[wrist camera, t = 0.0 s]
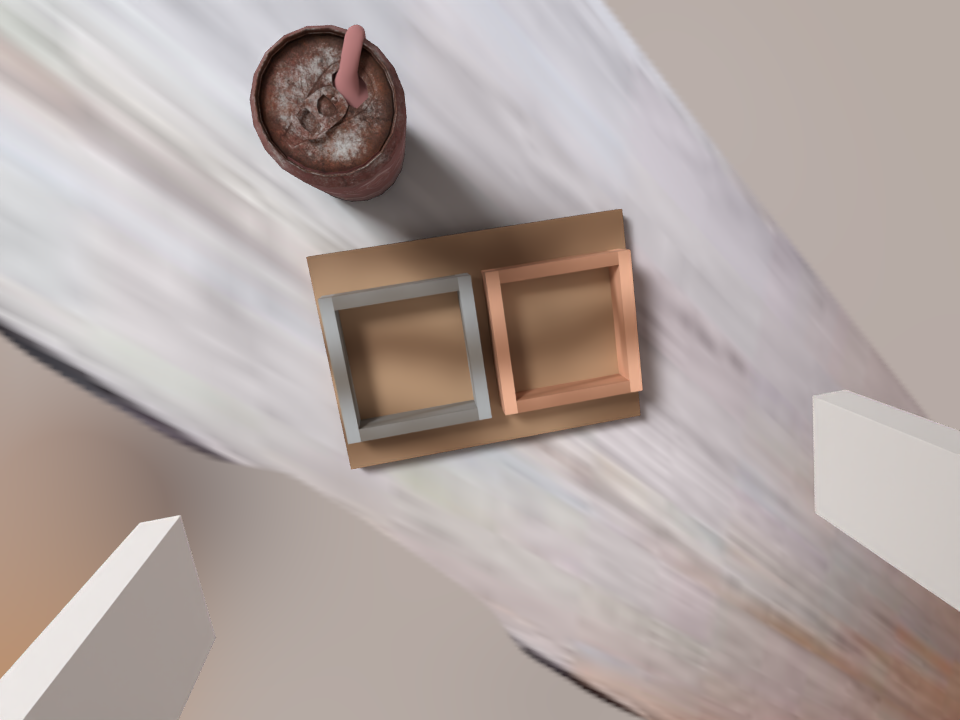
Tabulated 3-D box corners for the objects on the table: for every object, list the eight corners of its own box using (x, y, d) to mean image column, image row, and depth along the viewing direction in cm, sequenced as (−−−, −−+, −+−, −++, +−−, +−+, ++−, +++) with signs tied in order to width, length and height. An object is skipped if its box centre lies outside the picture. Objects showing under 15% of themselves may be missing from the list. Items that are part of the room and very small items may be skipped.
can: (415, 109, 37) (423, 37, 23) (391, 212, 38) (386, 203, 24) (315, 78, 35) (261, -15, 22) (294, 186, 37) (230, 161, 23)
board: (309, 256, 38) (300, 258, 34) (615, 209, 39) (633, 207, 36) (352, 462, 41) (348, 481, 38) (634, 410, 43) (652, 424, 40)
